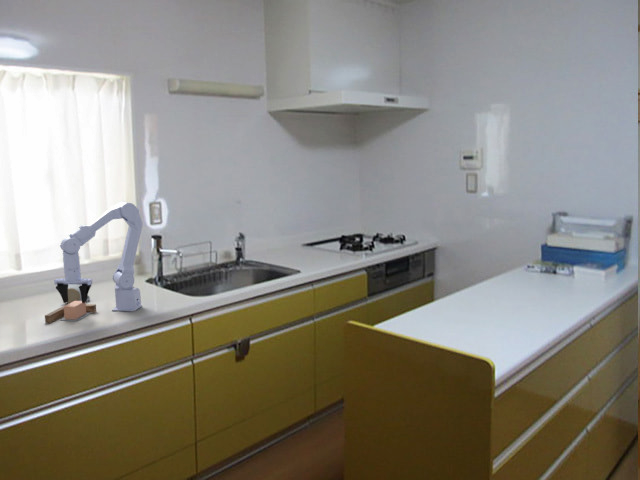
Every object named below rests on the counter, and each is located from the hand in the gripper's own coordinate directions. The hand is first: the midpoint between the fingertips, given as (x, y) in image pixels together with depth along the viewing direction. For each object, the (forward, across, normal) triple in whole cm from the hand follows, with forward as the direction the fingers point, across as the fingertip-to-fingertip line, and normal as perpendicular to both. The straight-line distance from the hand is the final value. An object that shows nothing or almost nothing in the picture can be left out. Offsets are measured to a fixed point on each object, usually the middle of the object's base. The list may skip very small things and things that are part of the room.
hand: (75, 302), depth 216 cm
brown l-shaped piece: (+6, -2, -1) cm, 6 cm away
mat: (+6, 0, 0) cm, 6 cm away
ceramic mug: (+6, -12, +21) cm, 25 cm away
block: (+6, 0, 0) cm, 6 cm away
